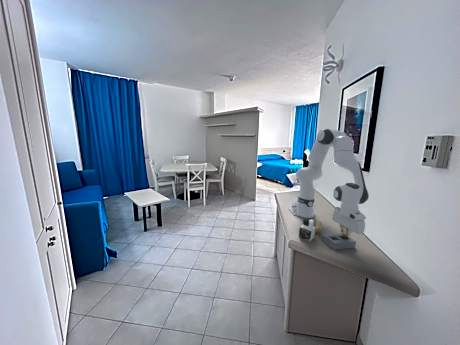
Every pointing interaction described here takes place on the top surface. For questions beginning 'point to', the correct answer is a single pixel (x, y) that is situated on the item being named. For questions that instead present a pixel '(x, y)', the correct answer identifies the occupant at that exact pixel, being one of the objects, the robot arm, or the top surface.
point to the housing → (338, 241)
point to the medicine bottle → (307, 229)
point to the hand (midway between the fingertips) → (345, 233)
